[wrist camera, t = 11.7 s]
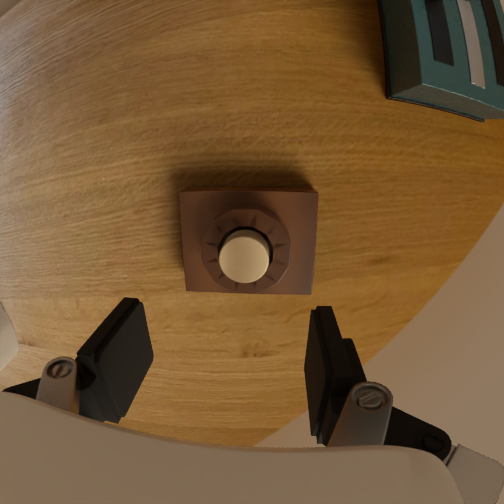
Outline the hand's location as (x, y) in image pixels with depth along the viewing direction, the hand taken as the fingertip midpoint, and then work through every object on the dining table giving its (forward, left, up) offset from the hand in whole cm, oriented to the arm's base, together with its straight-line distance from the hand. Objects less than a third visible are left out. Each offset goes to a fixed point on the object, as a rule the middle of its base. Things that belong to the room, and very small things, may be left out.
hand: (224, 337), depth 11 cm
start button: (0, 0, -10) cm, 10 cm away
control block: (0, 0, -14) cm, 14 cm away
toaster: (-16, -19, -14) cm, 28 cm away
